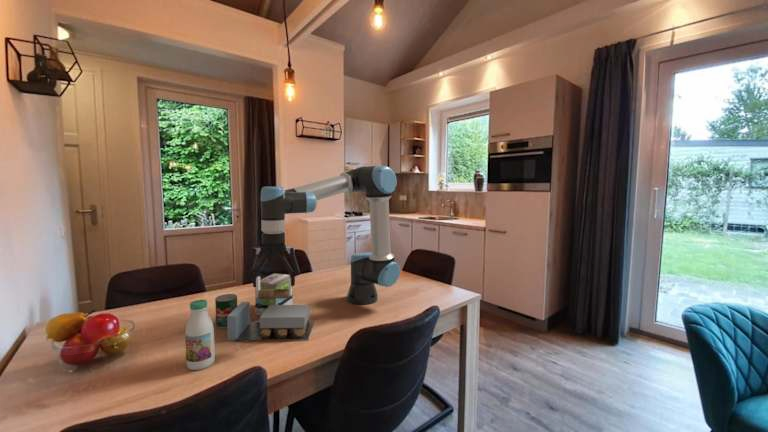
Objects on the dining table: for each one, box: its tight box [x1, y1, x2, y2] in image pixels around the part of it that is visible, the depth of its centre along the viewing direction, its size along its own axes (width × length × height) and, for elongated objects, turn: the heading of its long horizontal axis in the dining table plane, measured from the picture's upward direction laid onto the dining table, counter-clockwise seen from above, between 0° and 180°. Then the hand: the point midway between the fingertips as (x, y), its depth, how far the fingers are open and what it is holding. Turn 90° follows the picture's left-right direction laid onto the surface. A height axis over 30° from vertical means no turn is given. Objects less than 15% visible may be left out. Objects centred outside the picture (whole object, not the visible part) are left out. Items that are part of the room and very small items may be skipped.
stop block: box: [226, 301, 251, 342], centre depth 122 cm, size 3×14×9 cm, turn 4°
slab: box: [259, 304, 311, 328], centre depth 123 cm, size 16×12×4 cm
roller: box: [258, 289, 290, 299], centre depth 111 cm, size 10×3×3 cm, turn 99°
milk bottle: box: [184, 299, 216, 371], centre depth 99 cm, size 8×8×20 cm
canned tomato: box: [214, 293, 238, 329], centre depth 128 cm, size 8×8×11 cm
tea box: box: [254, 273, 294, 317], centre depth 143 cm, size 15×10×15 cm, turn 168°
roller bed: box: [233, 316, 315, 342], centre depth 123 cm, size 26×15×4 cm, turn 94°
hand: (274, 295), depth 112 cm, fingers closed on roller, 10 cm apart
